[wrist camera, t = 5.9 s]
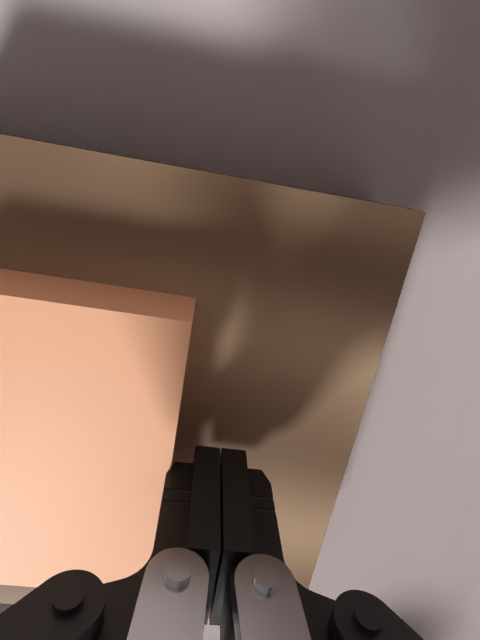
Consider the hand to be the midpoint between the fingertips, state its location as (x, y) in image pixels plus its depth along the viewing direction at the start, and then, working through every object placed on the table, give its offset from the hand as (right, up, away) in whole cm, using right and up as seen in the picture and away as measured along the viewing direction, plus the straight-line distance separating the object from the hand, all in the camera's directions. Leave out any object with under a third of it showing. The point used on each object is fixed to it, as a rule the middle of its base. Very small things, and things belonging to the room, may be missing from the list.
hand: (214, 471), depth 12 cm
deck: (-3, +2, +4) cm, 6 cm away
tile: (-4, +1, 0) cm, 4 cm away
